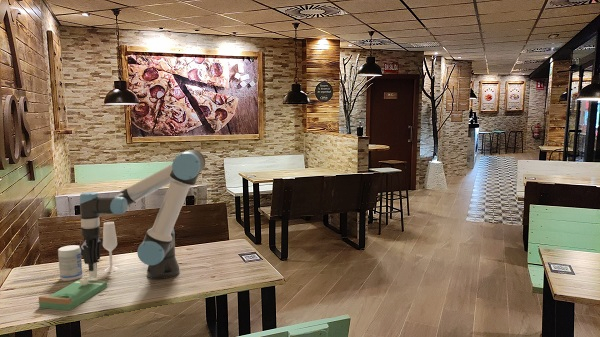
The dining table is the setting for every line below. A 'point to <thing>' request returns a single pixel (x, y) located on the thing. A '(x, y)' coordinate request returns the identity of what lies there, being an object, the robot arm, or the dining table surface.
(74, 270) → the supplement tub
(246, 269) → the dining table surface
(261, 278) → the dining table surface
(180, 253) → the dining table surface
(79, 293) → the green game board
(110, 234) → the champagne flute
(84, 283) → the ball
